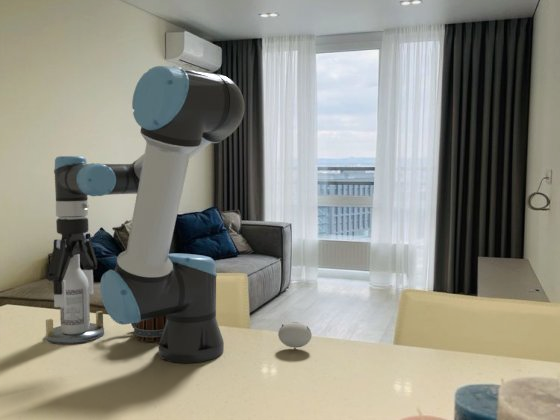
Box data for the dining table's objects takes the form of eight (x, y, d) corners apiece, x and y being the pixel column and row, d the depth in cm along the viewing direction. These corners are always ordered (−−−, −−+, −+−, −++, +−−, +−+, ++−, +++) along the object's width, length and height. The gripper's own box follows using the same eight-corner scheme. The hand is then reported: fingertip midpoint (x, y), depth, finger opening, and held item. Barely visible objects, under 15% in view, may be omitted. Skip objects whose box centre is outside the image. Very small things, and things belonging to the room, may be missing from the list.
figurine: (312, 346, 129) (312, 319, 128) (310, 355, 123) (310, 327, 122) (280, 344, 130) (280, 317, 129) (276, 353, 124) (276, 325, 123)
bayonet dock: (113, 328, 142) (113, 309, 141) (87, 346, 128) (87, 325, 128) (64, 326, 144) (64, 307, 143) (34, 343, 130) (33, 322, 129)
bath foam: (73, 325, 140) (71, 251, 138) (95, 328, 138) (93, 252, 136) (54, 333, 133) (52, 255, 132) (77, 336, 131) (75, 257, 130)
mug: (184, 334, 138) (184, 277, 136) (154, 345, 129) (154, 285, 127) (142, 324, 146) (141, 270, 145) (111, 334, 137) (110, 277, 136)
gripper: (59, 222, 120) (62, 313, 122) (108, 213, 145) (110, 289, 147) (28, 222, 121) (32, 312, 123) (83, 213, 146) (85, 288, 148)
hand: (74, 300), depth 135 cm, fingers open, 13 cm apart
